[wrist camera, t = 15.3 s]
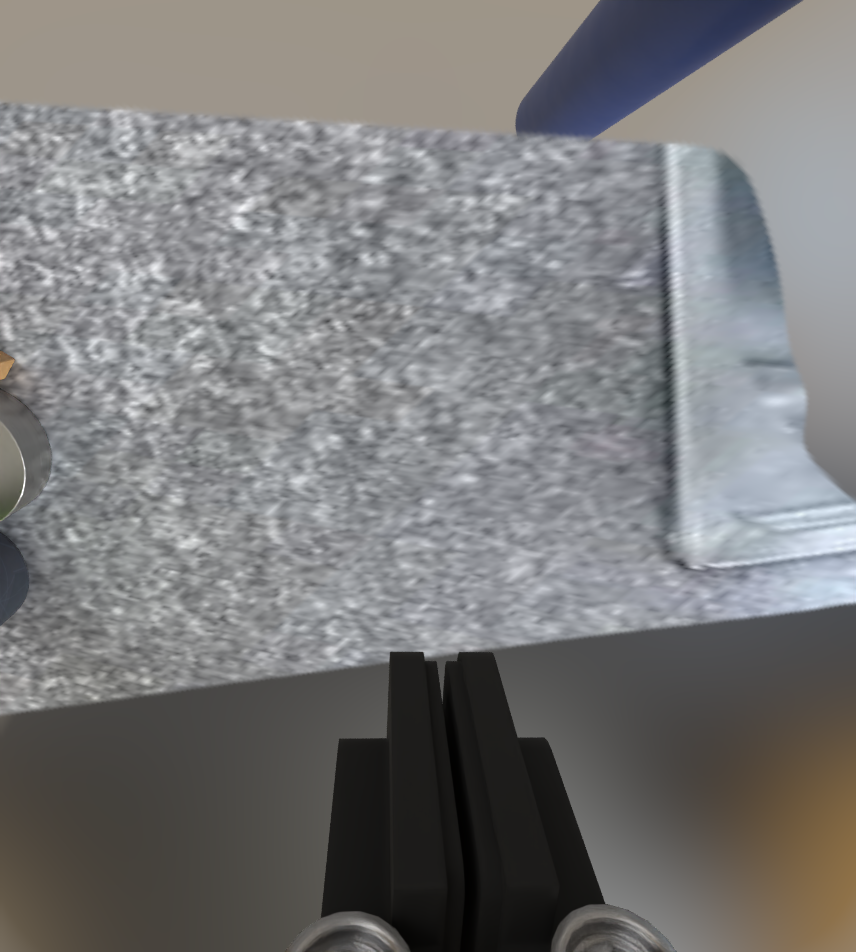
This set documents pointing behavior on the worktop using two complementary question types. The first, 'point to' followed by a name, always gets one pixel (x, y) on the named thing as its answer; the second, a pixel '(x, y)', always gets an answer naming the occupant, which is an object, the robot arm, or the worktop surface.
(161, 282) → the worktop surface
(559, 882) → the robot arm
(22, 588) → the beverage can
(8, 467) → the brushed steel puck
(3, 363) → the corner guard
